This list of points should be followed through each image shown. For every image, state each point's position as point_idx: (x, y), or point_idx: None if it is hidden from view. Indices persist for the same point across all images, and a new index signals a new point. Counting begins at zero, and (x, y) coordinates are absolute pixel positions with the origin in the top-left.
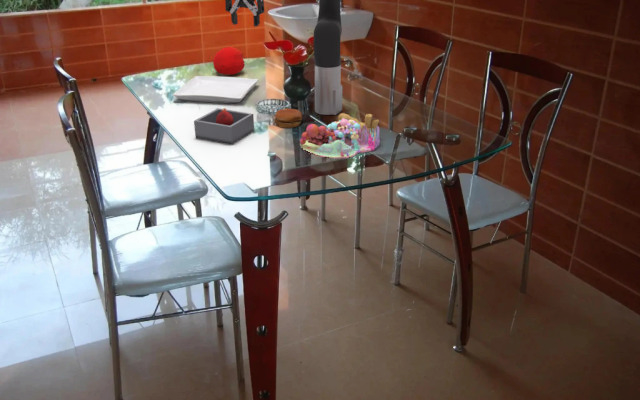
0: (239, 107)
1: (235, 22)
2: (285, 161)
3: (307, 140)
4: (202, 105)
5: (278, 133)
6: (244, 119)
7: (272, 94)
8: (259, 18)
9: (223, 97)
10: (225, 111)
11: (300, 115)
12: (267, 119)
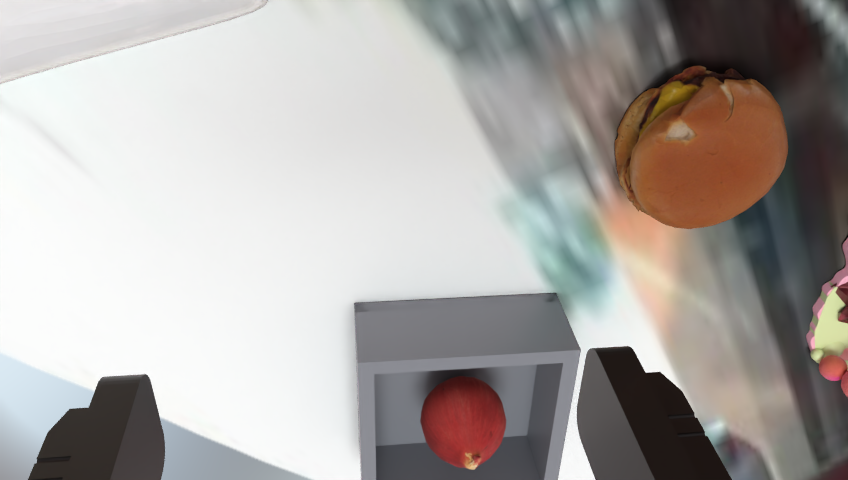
0: (277, 18)
1: (154, 453)
2: (775, 453)
3: (834, 307)
4: (24, 91)
5: (677, 270)
6: (568, 414)
7: None
8: (719, 462)
9: (138, 42)
10: (481, 460)
11: (786, 156)
12: (553, 135)
